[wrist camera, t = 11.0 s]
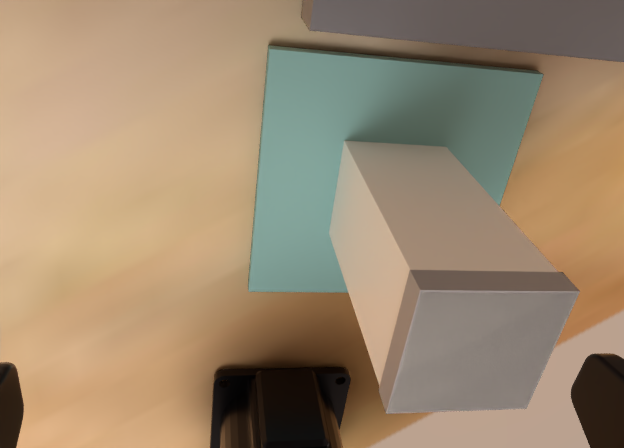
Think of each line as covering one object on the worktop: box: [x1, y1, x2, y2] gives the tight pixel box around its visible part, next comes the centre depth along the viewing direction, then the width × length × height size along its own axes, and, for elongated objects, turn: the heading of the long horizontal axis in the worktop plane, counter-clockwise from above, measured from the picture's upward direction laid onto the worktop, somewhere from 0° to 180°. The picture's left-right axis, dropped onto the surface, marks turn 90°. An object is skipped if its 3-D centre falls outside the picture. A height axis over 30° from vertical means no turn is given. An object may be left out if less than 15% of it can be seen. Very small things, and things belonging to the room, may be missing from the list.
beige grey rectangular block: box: [329, 141, 580, 414], centre depth 18 cm, size 4×4×9 cm
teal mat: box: [248, 45, 544, 293], centre depth 22 cm, size 10×10×1 cm
